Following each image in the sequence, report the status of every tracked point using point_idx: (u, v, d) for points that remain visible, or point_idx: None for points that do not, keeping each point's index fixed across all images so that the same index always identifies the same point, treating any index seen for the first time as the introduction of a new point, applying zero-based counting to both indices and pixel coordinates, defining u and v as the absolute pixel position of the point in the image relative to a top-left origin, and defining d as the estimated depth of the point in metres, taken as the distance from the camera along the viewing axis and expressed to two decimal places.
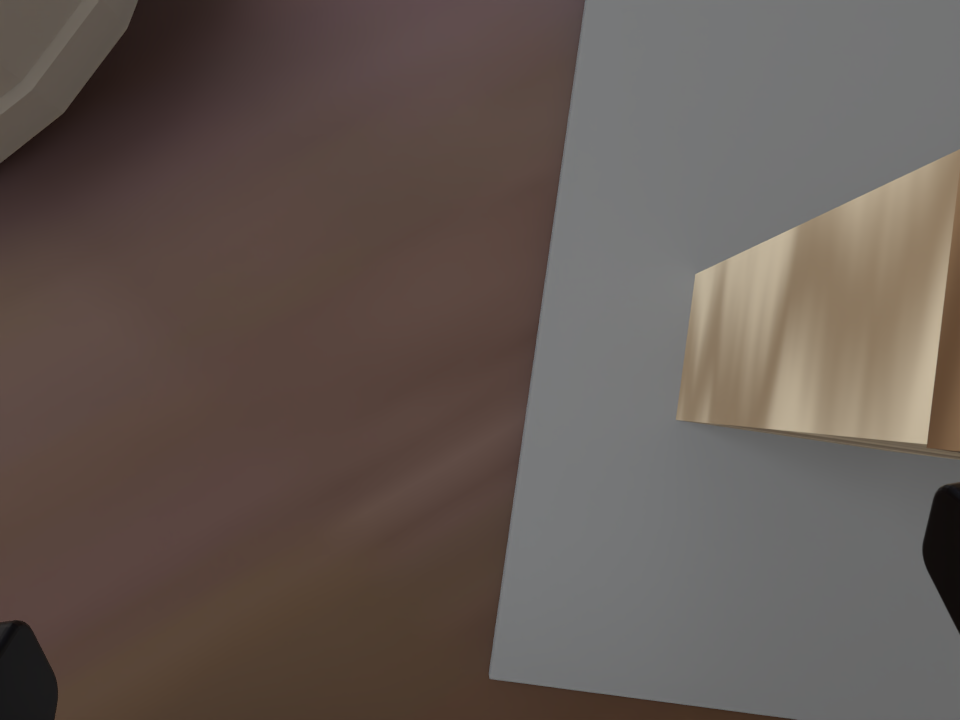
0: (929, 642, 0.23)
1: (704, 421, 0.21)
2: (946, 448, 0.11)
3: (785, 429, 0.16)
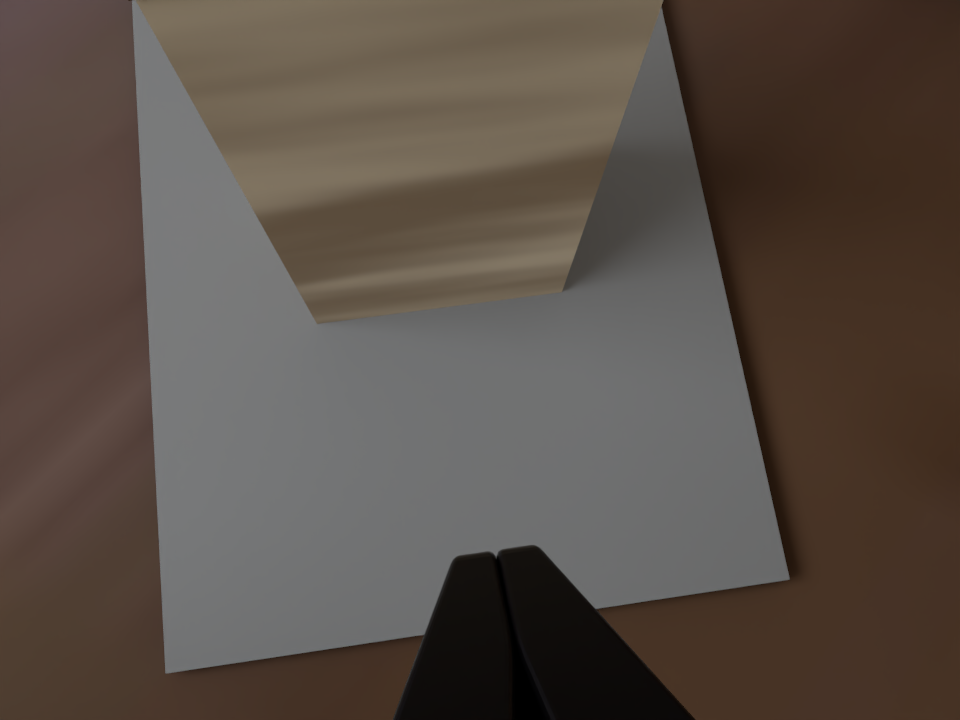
0: (669, 483, 0.20)
1: (298, 289, 0.18)
2: None
3: (242, 189, 0.14)
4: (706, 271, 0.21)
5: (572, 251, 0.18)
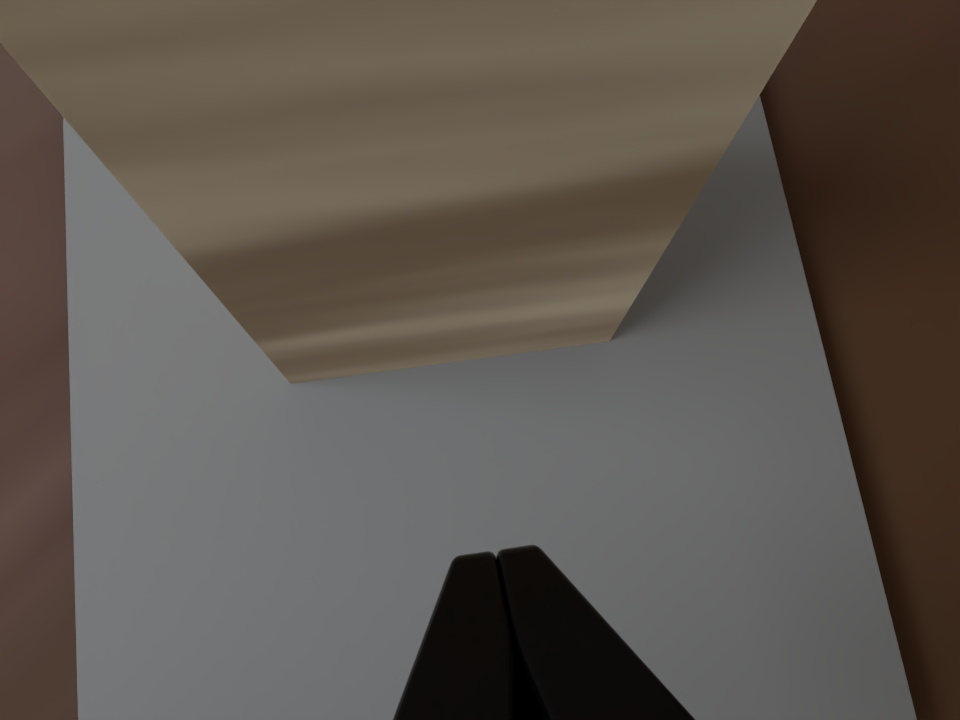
0: (755, 598, 0.15)
1: (260, 346, 0.14)
2: None
3: (153, 221, 0.09)
4: (796, 314, 0.16)
5: (633, 294, 0.14)
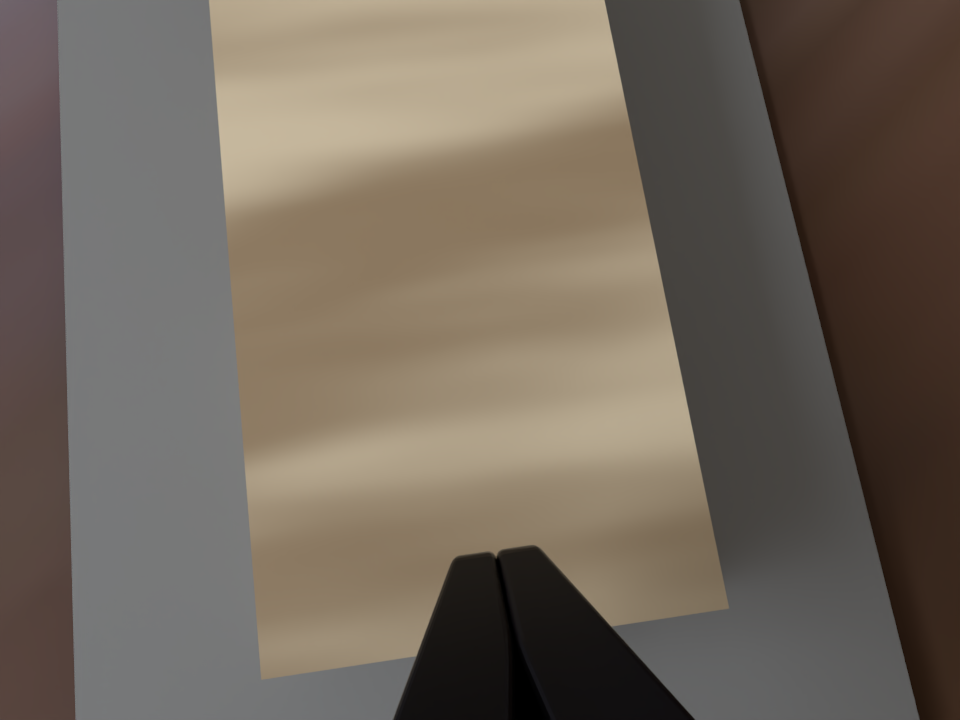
0: None
1: (246, 483, 0.11)
2: None
3: (221, 152, 0.13)
4: None
5: (681, 404, 0.12)
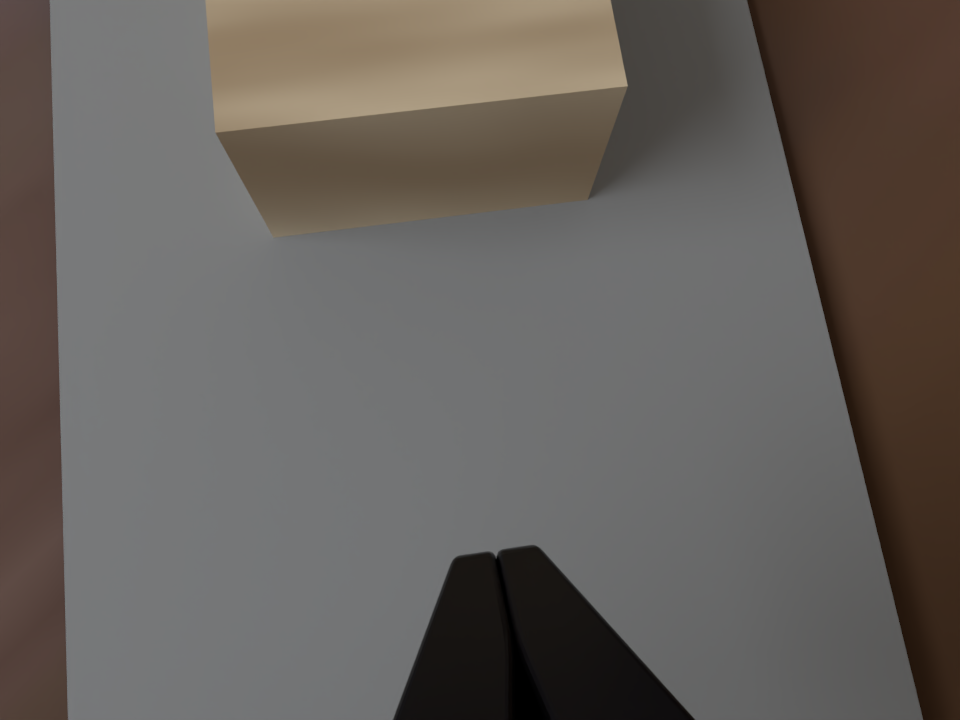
0: (778, 687, 0.14)
1: None
2: None
3: None
4: (821, 384, 0.16)
5: None
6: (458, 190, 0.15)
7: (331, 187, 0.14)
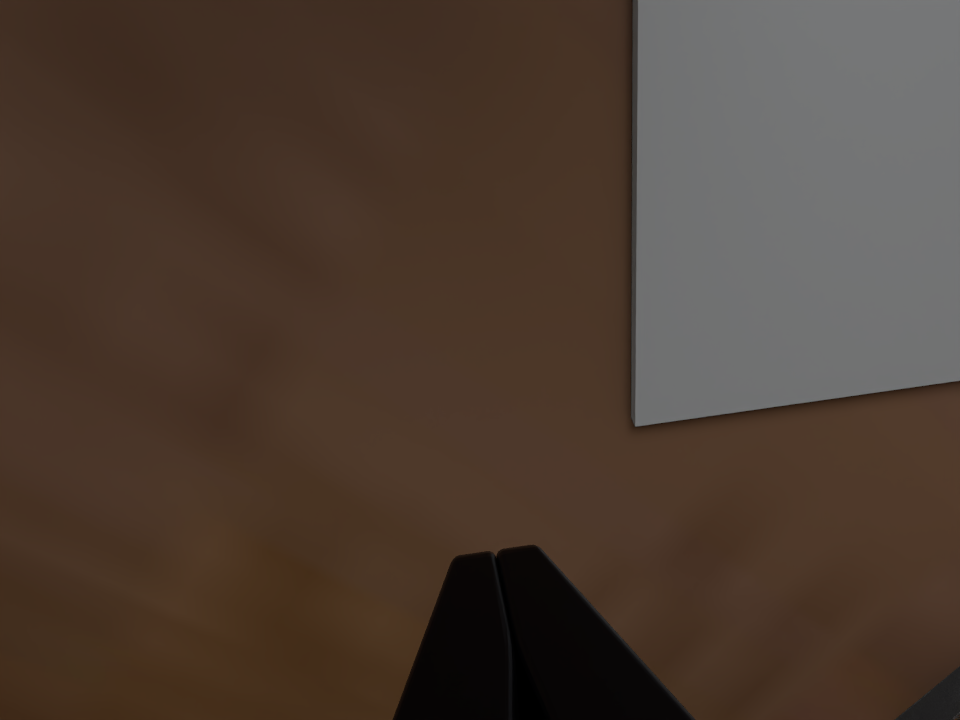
0: (734, 336, 0.21)
1: None
2: None
3: None
4: (915, 375, 0.23)
5: None
6: None
7: None
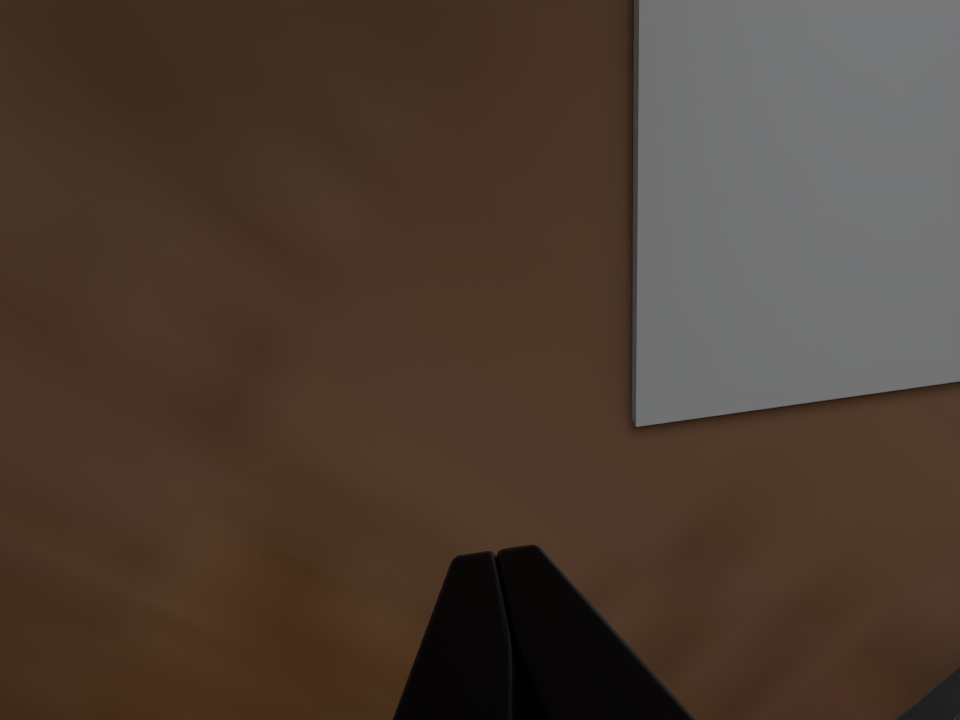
0: (735, 337, 0.21)
1: None
2: None
3: None
4: (916, 376, 0.23)
5: None
6: None
7: None
